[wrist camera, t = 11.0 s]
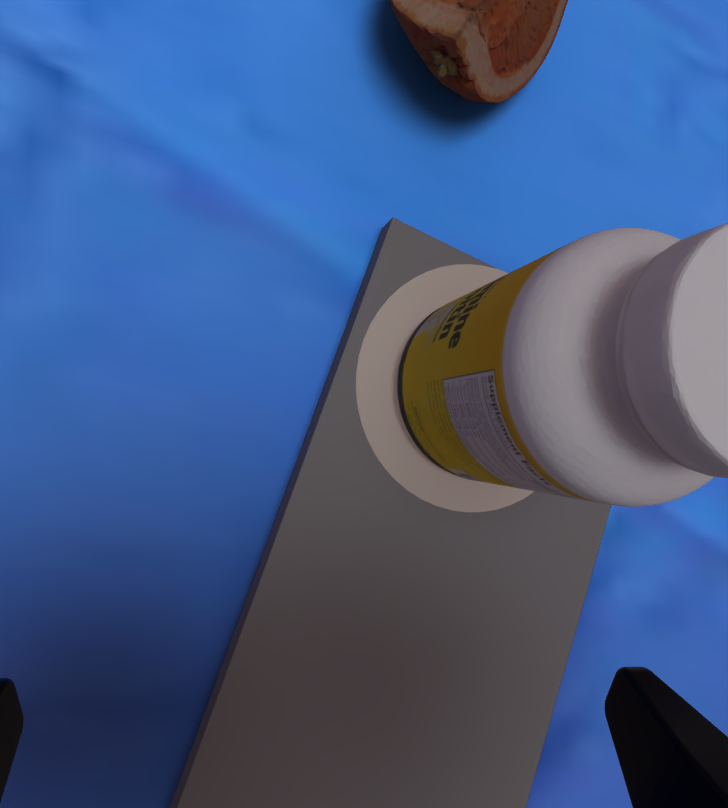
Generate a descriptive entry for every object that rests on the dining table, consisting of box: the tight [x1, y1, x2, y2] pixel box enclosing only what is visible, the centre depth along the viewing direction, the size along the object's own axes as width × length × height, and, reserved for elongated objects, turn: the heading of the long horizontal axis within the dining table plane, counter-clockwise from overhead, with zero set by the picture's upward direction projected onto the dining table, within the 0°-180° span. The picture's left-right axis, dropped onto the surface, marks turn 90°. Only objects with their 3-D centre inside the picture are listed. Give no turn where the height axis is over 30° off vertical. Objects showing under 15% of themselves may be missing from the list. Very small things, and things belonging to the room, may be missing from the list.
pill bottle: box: [396, 223, 728, 507], centre depth 16 cm, size 6×6×12 cm
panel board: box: [170, 218, 611, 808], centre depth 22 cm, size 21×12×1 cm, turn 160°
